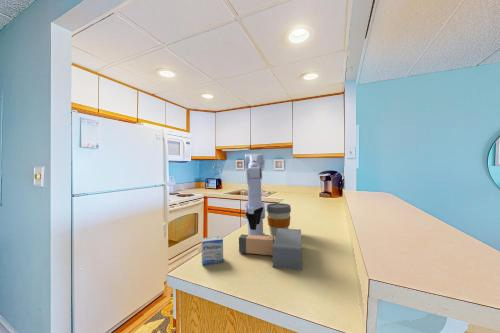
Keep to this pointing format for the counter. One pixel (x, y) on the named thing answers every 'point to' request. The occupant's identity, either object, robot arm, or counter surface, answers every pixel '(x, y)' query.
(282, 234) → the block
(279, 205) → the reusable coffee cup
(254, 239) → the grey and tan block
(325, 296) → the counter surface
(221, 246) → the medicine box
